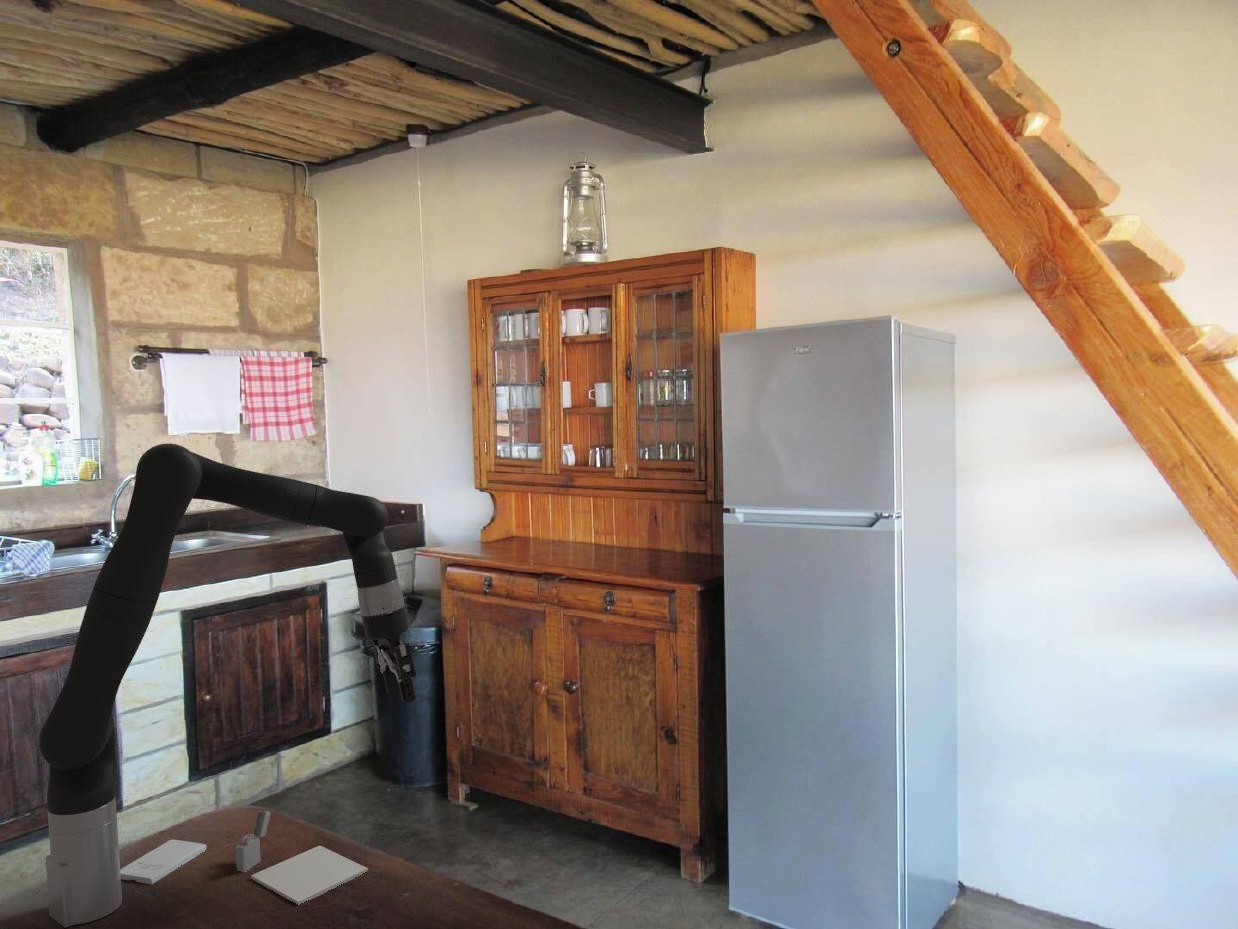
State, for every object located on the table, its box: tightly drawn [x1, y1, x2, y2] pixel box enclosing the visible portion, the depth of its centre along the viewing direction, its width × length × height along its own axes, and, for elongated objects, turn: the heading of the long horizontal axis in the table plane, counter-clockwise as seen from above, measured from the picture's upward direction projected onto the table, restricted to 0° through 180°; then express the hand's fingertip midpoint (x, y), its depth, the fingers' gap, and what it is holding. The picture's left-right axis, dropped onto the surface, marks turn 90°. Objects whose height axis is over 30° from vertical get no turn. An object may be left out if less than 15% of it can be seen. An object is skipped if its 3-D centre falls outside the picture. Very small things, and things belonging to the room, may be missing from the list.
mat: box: [250, 845, 369, 906], centre depth 155 cm, size 13×14×1 cm
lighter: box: [235, 810, 271, 873], centre depth 160 cm, size 7×2×8 cm, turn 161°
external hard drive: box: [120, 838, 207, 885], centre depth 161 cm, size 2×8×12 cm
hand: (401, 696), depth 164 cm, fingers open, 8 cm apart
